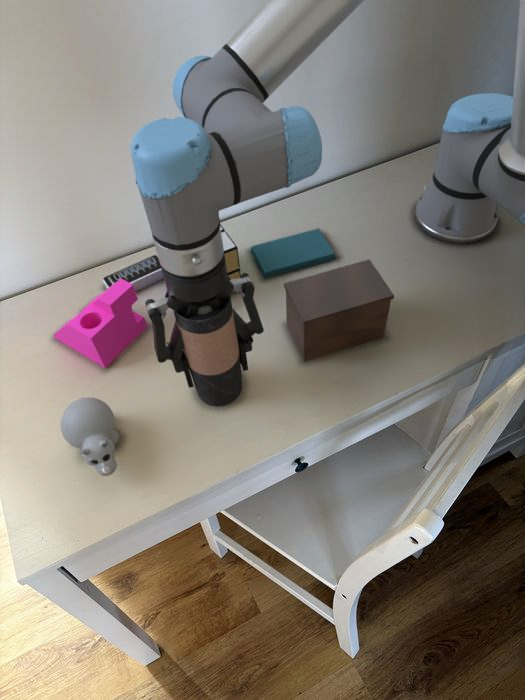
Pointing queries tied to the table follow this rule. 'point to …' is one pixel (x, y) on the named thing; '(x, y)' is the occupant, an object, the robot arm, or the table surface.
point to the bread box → (337, 309)
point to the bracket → (105, 325)
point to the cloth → (292, 253)
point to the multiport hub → (137, 273)
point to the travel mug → (212, 353)
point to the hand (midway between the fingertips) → (216, 371)
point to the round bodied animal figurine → (92, 432)
